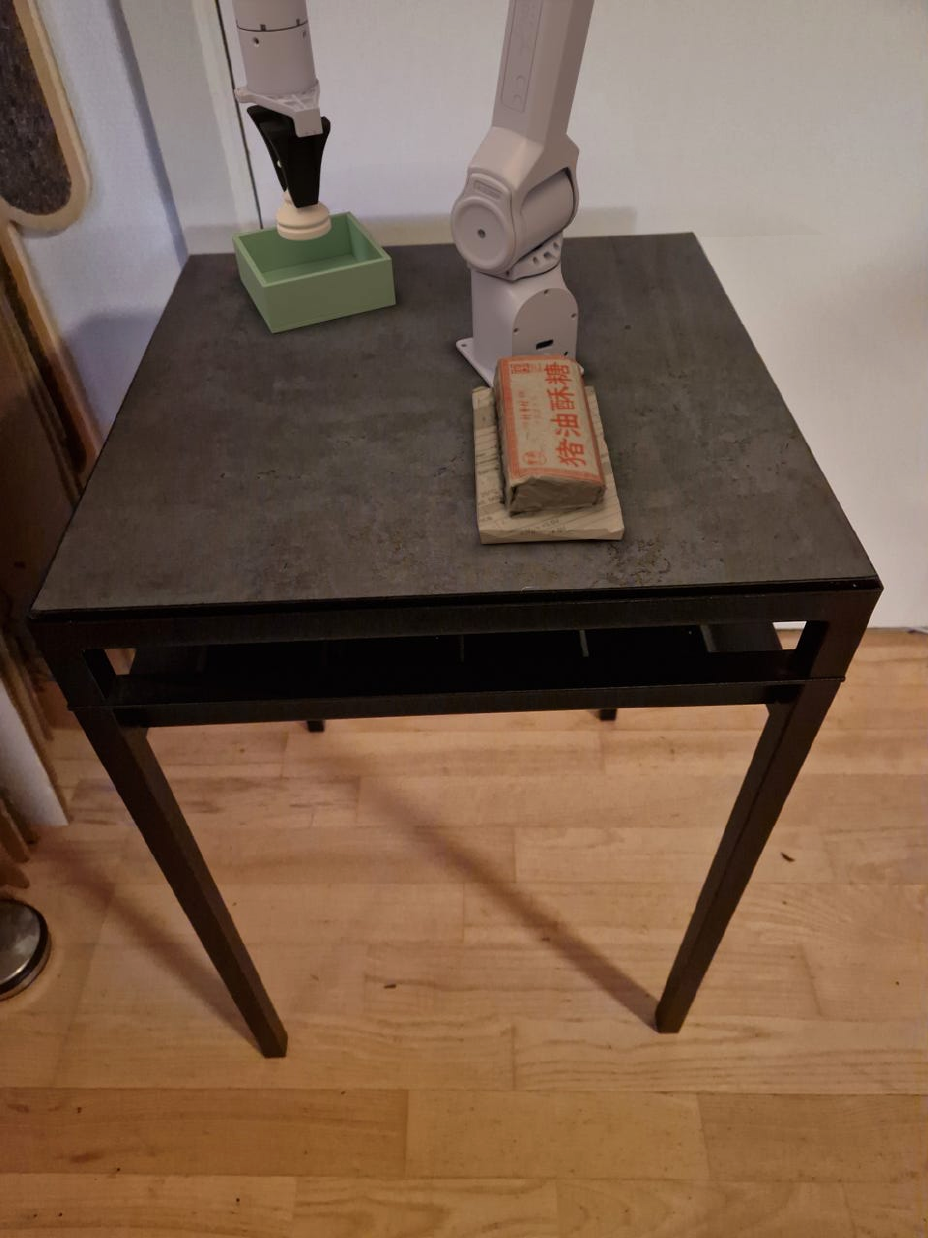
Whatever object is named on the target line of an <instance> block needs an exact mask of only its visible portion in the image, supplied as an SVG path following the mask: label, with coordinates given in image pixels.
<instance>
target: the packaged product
mask: <svg viewBox="0 0 928 1238" xmlns="http://www.w3.org/2000/svg"><path fill="white" fill-rule="evenodd" d="M579 365H580V364H579V363H578V362H577V360H576V359H575V360H574V359H570V358H568V357H563V356H562V355H559V354H553V355H540V356H534V355H532V356H528V355H523V356H515V357H501V358H498V361H497V365H496V367H495V375H494V380H493V388H491V387H486V386H483V385H481V386H480V385H479V386H478V387H476V388H474V389H472V394H471V395H472V396H471V397H472V398H471V400H472V401H471V402H472V409H473V440H474V475H475V502H476V524H477V528H478V534H479V537H480V542H481V545H484V544H485V545H486V544H504V543H505V544H506V543H523V542H545V541H568V540H569V541H570V540H589V539H590V540H617V541H618V540H619V541H620V540H622V539H623V534H624V532H625V525H624V521H623V514H622V509H621V503H620V500H619V497H618V493H617V492H618V491H617V488H616V483H615V482H616V481H615V478H614V473H613V468H612V463H611V459H610V455H609V449H608V446H607V445H608V444H607V443H606V440H605V433H604V428H603V423H602V419H601V416H600V410H599V405H598V401H597V396H596V391H595V388H594V385H587V386H586V385H585V383H584V379H583V375H581V373H580V367H579Z"/></svg>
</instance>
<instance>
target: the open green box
mask: <svg viewBox="0 0 928 1238" xmlns="http://www.w3.org/2000/svg"><path fill="white" fill-rule="evenodd" d="M329 217H330V220H331V229H330V231H329V232H328V233H327V234H325V235H324V236H322V237H319V238H317V239H312V240H306V241H293V240H288V239H285V238H283V237H281V236H280V235H279V234H278V230H277V225H276V226H275V225H274V226H271V227H265V228H261V229H256V230H252V231H246V232H242V233H237V234H232V235H230V236H231V241H232V245H233V251H234V255H235V258H236V260H235V261H236V265H237V268H238V273H239V277H240V281H241V282H242V284H243V286H244V287H245V289H246V291H247V293H248V294H249V297H250V298H251V300H252V302H253V303H254V304H255V307H256V308H257V310H258V312H259V313H260V315H261V317H262V318H263V320H264V322H265V324H266V325H267V327H268V329H269V331H270V332H271V334H277V333H281V332H285V331H290V330H294V329H298V328H302V327H306V326H311V325H315V324H319V323H324V322H327V321H333V320H336V319H341V318H345V317H349V316H354V315H357V314H361V313H366V312H370V311H374V310H378V309H383V308H387V307H391V306H395V305H396V304H397V302H396V292H395V282H394V272H393V271H394V269H393V261H392V260H393V259H392V257H391V256H390V255H389V254H388V253H387V252H386V251H385V250H384V249H383V247H382V246H381V245H380V244H379V242H378V241H377V240H376V239H375V238H374V237H373V236H372V235H371V234H370V233H369V231H368V230H367V229H366V228H365V227H364V225H363V224H362V223H361V222H360V221H359V220H358V219H357V218H356V216H355V215H354V214H353V213H352V212H351V211H349V210H348V211H345V212H338V213H334V214H329Z"/></svg>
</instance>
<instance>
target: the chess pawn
mask: <svg viewBox="0 0 928 1238" xmlns="http://www.w3.org/2000/svg"><path fill="white" fill-rule="evenodd" d="M278 166H279V167H281V166H280V163H279V161H278ZM282 199H284V201H283V202H282V204H281V205H280V207H279V208H278V209H277V210H276V212H275V214H274V220H275V222H276V224H275V225H276V226H277V230H278V234H279V235H280V236H281V237H283V238H285V239H288V240H293V241H306V240H312V239H317V238H319V237H322V236H324V235H325V234H327V233H328V232H329V231H330V229H331V220H330V217H329V215H331V214H330V209H329V208H328V207H327V206H326V205H325V204H324V203H323V202H322V201H320V200H318V204H317V205H312V206H307V207H302V208H296V207H295V206H294V204H293V202H292V199H291V197H290V194H289V191H288V188H287V190H286V191H285V192H284V191H283V193H282Z"/></svg>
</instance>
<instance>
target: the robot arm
mask: <svg viewBox="0 0 928 1238" xmlns="http://www.w3.org/2000/svg"><path fill="white" fill-rule="evenodd" d="M231 4H232V9H233V15H234V20H235V25H236V30H237V36H238V42H239V47H240V52H241V57H242V63H243V69H244V75H245V79H246V85H245V86H240V87H236V88H234V89H233V93H234V97H235V100H236V101H237V102H238V103H239V104H249V103H250V104H251V103H253V104H254V105H253V104H252V105H250V106H248V107H247V108H246V113H247V114H248V117H250V119H251V121H252V122H253V124H254V125H255V127H256V129H257V130H258V132H259V134H260V136H261V138H262V140H263V143H264V145H265V147H266V149H267V150H266V151H267V152H268V155H269V157H270V160H271V163H272V166H273V169H274V171H275V174H276V177H277V179H278V182H279V185H280V187H281V189H282V191H283V193H284V192H285V191H286V190H287V188H288V191H289V194H290V197H291V199H292V202H293V204H294V206H295V207H296V208H302V207H307V206H312V205H317V204H318V201H320V200H319V199H320V190H321V189H320V187H321V173H322V172H321V171H322V161H323V155H324V151H325V148H326V144H327V140H328V139H329V135H330V134H331V129H332V123H331V121H330V120H329V118H328V117H327V116H325V115H323V116H321V110H320V106H319V100H320V97H321V96H320V95H321V86H320V80H319V79H318V78H317V73H316V66H315V58H314V51H313V44H312V38H311V31H310V23H309V22H310V21H309V16H308V9H307V2H306V0H231ZM594 5H595V0H509V1H508V7H507V15H506V20H505V27H504V35H503V42H502V48H501V56H500V63H499V70H498V77H497V83H496V90H495V97H494V103H493V104H494V105H493V110H492V117H491V124H490V127H489V129H488V131H487V133H486V134H485V136H484V138H483V140H482V141H481V143H480V145H479V147H478V148H477V150H476V152H475V153H474V155H473V157H472V159H471V160H470V162H469V164H468V166H467V170H466V171H467V172H466V178H465V183H464V185H463V189H462V191H461V192H460V194H459V195H458V197H457V198H456V199H455V200H454V202H453V204H452V207H451V210H450V217H449V218H450V219H449V226H450V227H449V228H450V233H451V237H452V240H453V243H454V245H455V247H456V249H457V251H458V253H459V254H460V255H461V257H462V258H463V260H464V261H465V262H466V267H467V269H469V270H470V284H471V285H470V286H471V319H472V337H471V336H470V337H467V338H463V339H460V340H457V342H456V344H455V347H456V348H457V350H458V351H459V352H460V353H461V354H462V356H463V357H464V358H465V359H466V360H467V361H468V363H469V364H470V365H471V366H472V367H473V368H474V370H476V372H477V373H478V374H479V375H480V376H481V378H482V379H483V380H484V381H485V383H486V384H487V386H489V388H493V380H494V375H495V367H496V365H497V361H498V358H501V357H515V356H523V355H528V356H532V355H534V356H540V355H553V354H559V355H562V356H563V357H568V358H570V359H574V360H575V361H576V355H577V341H578V327H579V326H578V325H579V307H578V303H577V301H576V298H575V297H574V294H572V292H571V291H570V290H569V288H568V287H567V285H566V283H565V280H564V278H563V274H562V266H561V265H562V263H561V262H562V261H561V258H562V257H561V256H562V246H563V242H564V241H563V240H564V231H565V230H566V229H567V228H568V227H569V226H570V225H571V224H572V223H573V221H574V220H575V218H576V216H577V213H578V210H579V206H580V189H579V185H578V178H577V167H578V161H579V156H580V148H579V147H578V145H577V144H576V143H575V142H574V141H573V140H572V138H571V137H570V136H569V135H568V134H567V132H568V128H569V123H570V118H571V112H572V109H573V104H574V99H575V95H576V89H577V84H578V81H579V75H580V70H581V66H582V61H583V57H584V52H585V48H586V42H587V37H588V34H589V29H590V24H591V19H592V14H593V9H594ZM278 161H279V163H280V166H281V167H279V166H278ZM579 367H580V373H581V375H582V376H583V375H584V373H585V369H584V367H583V366H582V365H580V364H579Z"/></svg>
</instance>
